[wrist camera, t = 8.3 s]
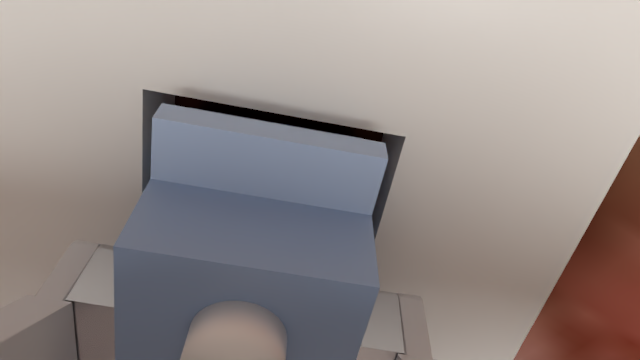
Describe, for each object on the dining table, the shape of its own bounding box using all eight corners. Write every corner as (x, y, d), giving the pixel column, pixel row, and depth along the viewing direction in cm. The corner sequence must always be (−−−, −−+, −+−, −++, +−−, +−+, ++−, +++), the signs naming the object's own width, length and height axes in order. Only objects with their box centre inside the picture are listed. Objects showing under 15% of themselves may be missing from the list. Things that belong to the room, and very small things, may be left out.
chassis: (434, 410, 19) (446, 486, 17) (35, 349, 18) (-9, 422, 16) (667, -76, 11) (753, -53, 8) (-54, -228, 10) (-174, -249, 8)
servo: (308, 348, 16) (298, 567, 11) (174, 328, 16) (103, 546, 11) (375, 90, 12) (407, 262, 7) (193, 55, 12) (89, 211, 7)
